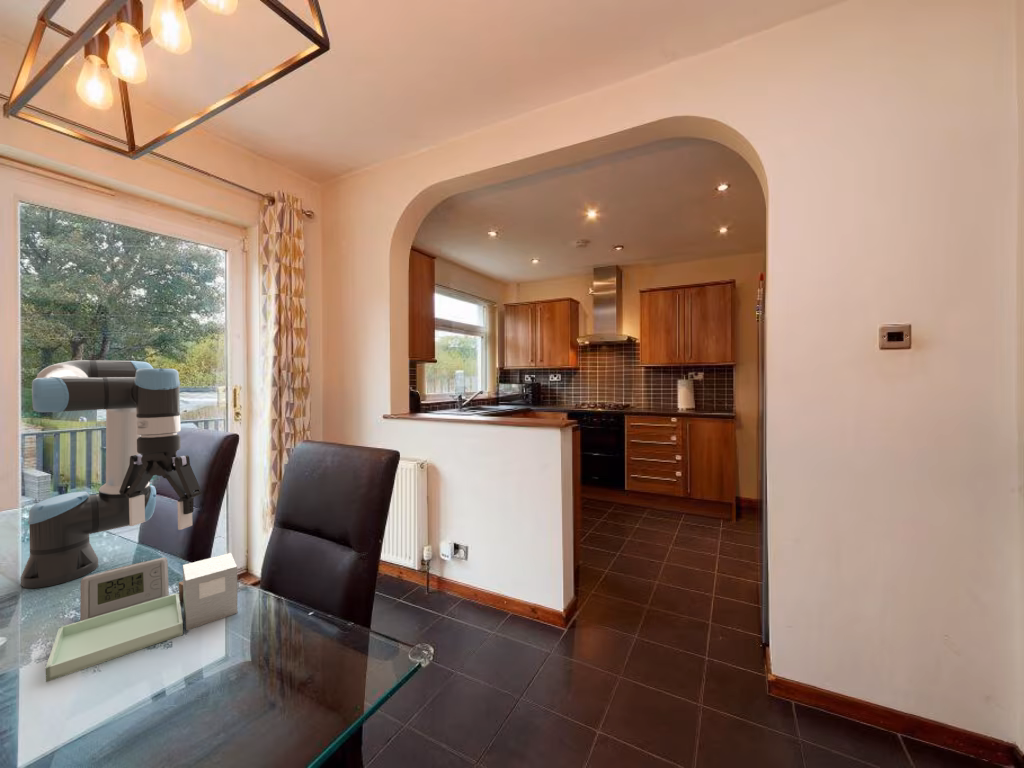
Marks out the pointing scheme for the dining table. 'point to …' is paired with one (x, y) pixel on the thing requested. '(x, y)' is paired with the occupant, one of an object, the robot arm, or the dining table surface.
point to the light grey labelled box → (209, 590)
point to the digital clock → (123, 587)
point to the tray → (114, 635)
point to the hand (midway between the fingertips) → (161, 525)
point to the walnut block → (181, 591)
